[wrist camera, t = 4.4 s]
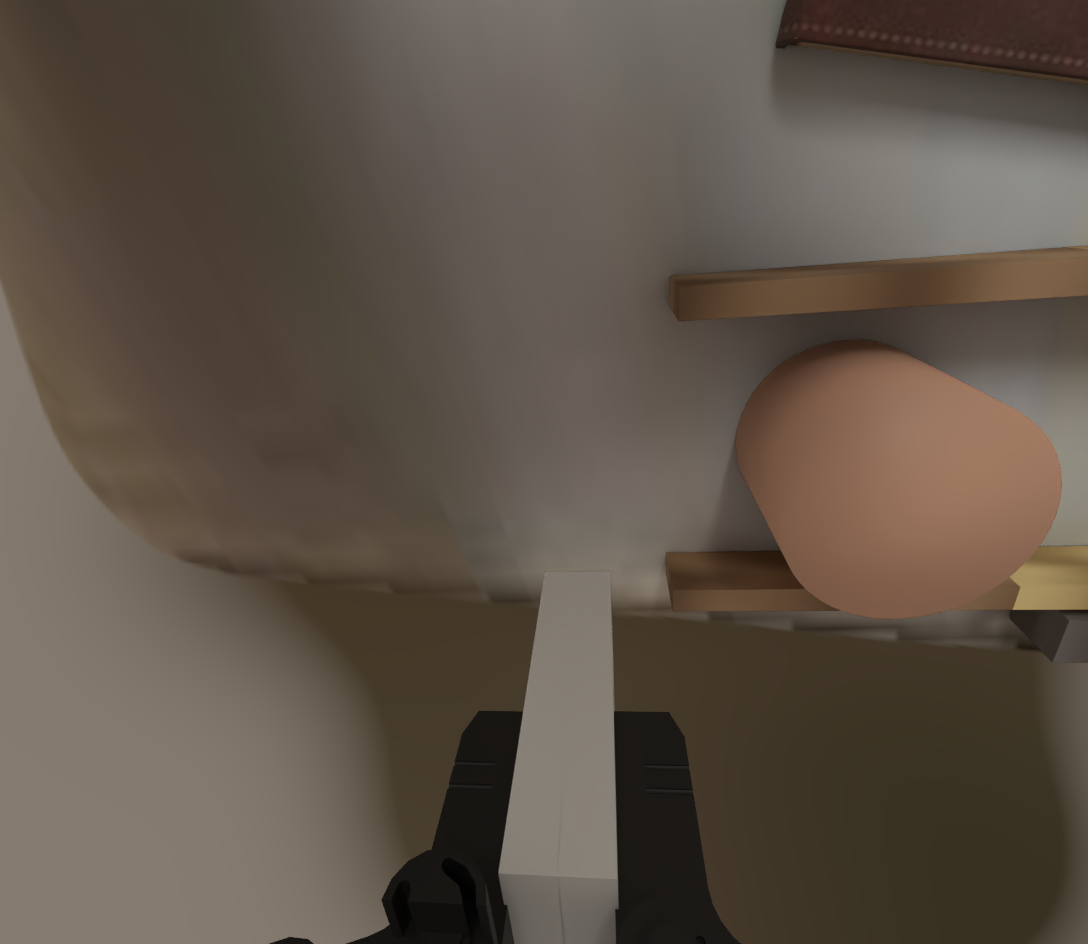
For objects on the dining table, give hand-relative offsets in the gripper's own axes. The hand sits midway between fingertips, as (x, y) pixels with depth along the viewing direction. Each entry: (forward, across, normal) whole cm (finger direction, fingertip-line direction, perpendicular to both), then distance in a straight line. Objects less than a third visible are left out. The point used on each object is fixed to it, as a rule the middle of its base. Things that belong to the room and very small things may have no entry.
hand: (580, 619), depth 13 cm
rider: (+10, +9, +1) cm, 13 cm away
